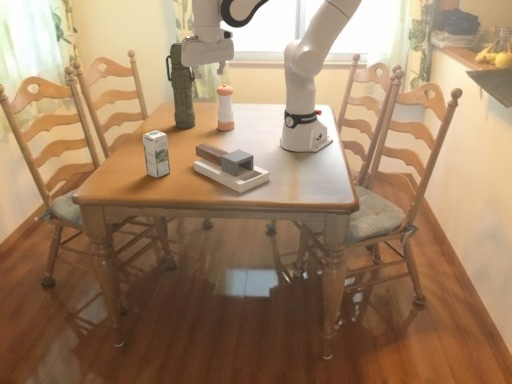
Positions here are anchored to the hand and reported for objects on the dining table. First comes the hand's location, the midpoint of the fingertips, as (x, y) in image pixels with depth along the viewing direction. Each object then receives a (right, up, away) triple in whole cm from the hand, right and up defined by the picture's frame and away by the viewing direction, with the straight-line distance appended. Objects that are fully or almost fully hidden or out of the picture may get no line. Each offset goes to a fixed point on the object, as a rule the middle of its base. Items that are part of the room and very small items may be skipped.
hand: (209, 76), depth 146 cm
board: (+7, -34, -2) cm, 35 cm away
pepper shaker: (+3, -12, +41) cm, 42 cm away
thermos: (-15, -10, +43) cm, 47 cm away
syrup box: (-17, -34, -1) cm, 38 cm away
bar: (+1, -28, +2) cm, 28 cm away
